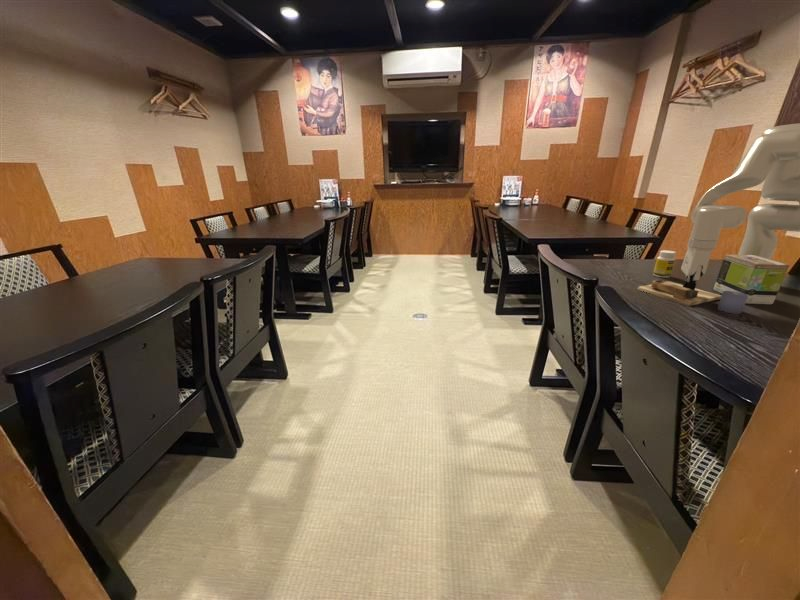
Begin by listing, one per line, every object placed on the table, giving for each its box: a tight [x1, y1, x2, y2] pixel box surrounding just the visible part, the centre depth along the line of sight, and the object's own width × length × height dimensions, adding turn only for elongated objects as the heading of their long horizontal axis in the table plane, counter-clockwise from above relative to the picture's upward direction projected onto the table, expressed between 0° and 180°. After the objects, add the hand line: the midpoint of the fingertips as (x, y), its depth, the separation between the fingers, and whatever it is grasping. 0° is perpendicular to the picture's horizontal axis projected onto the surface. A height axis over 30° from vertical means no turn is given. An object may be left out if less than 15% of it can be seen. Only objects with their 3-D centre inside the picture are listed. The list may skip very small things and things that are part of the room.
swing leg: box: [650, 278, 698, 299], centre depth 122 cm, size 15×4×3 cm, turn 19°
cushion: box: [717, 291, 748, 315], centre depth 109 cm, size 6×6×6 cm
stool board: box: [636, 280, 722, 307], centre depth 124 cm, size 18×19×5 cm
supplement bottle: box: [652, 249, 677, 279], centre depth 144 cm, size 6×6×11 cm
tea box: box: [713, 254, 790, 305], centre depth 118 cm, size 15×10×15 cm
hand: (687, 291), depth 121 cm, fingers closed
